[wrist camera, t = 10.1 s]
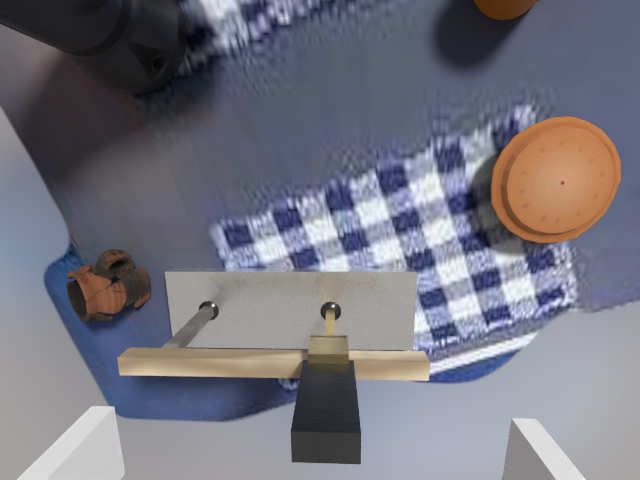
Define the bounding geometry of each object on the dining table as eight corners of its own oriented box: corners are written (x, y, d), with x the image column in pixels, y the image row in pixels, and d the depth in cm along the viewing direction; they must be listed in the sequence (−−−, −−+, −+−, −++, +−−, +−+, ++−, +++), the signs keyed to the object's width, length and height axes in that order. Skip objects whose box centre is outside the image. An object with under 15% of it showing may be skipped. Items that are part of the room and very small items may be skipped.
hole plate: (171, 267, 47) (164, 271, 45) (413, 267, 46) (416, 272, 44) (179, 340, 50) (173, 347, 48) (409, 343, 48) (413, 350, 46)
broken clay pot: (150, 318, 50) (91, 342, 43) (120, 282, 53) (61, 299, 47) (160, 258, 44) (95, 275, 38) (126, 223, 48) (60, 233, 41)
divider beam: (181, 304, 46) (117, 357, 33) (400, 305, 45) (429, 362, 31) (183, 316, 47) (119, 375, 33) (400, 318, 45) (428, 380, 31)
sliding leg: (312, 297, 45) (290, 419, 22) (348, 297, 44) (361, 421, 22) (313, 327, 45) (292, 473, 23) (347, 328, 45) (360, 475, 23)
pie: (458, 214, 44) (473, 218, 39) (512, 103, 41) (536, 93, 36) (558, 254, 44) (585, 264, 39) (619, 148, 41) (657, 144, 36)
